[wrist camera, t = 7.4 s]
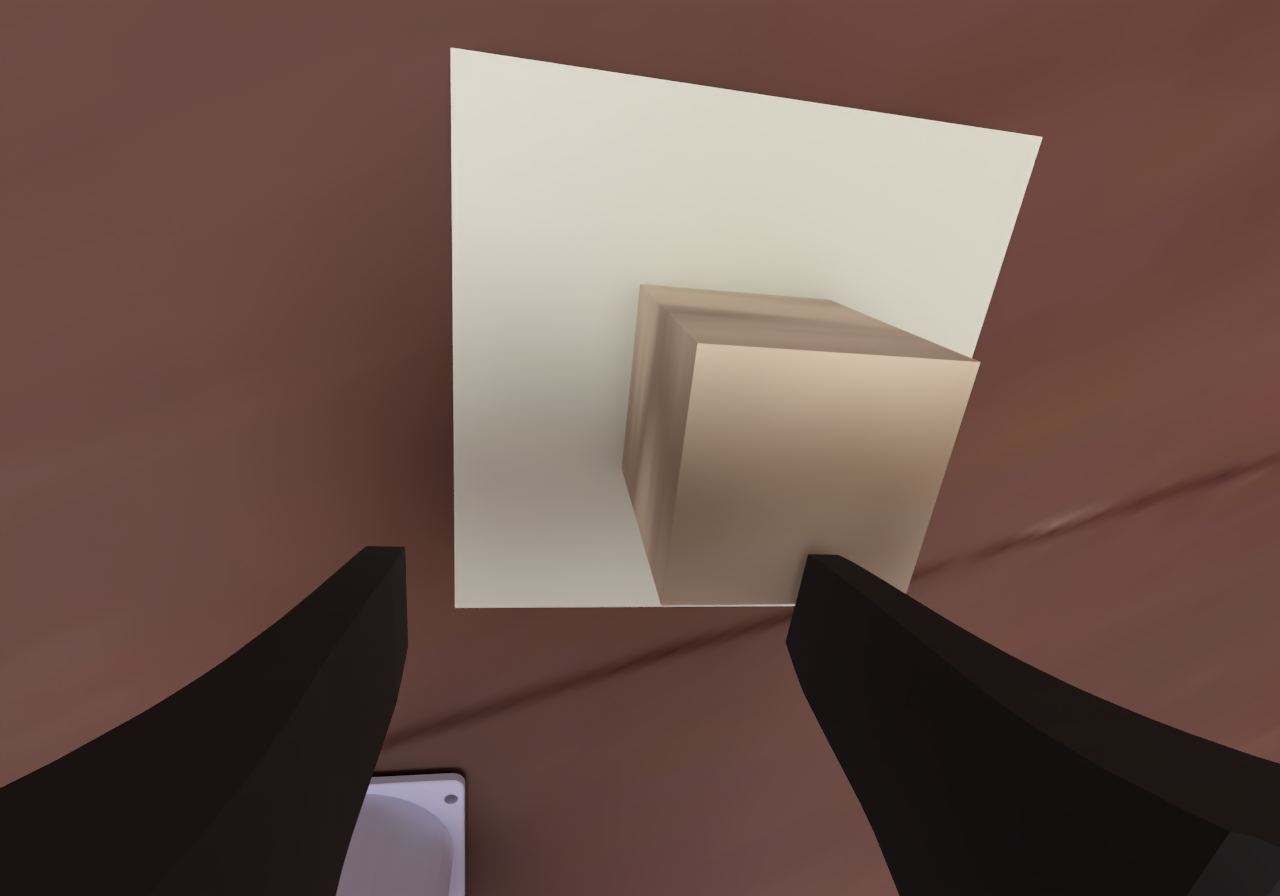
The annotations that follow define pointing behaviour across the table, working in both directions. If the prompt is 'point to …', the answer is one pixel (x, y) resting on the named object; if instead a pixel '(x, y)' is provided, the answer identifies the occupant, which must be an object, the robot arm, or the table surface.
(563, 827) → the table surface
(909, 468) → the ash block
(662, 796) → the table surface
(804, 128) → the base plinth
